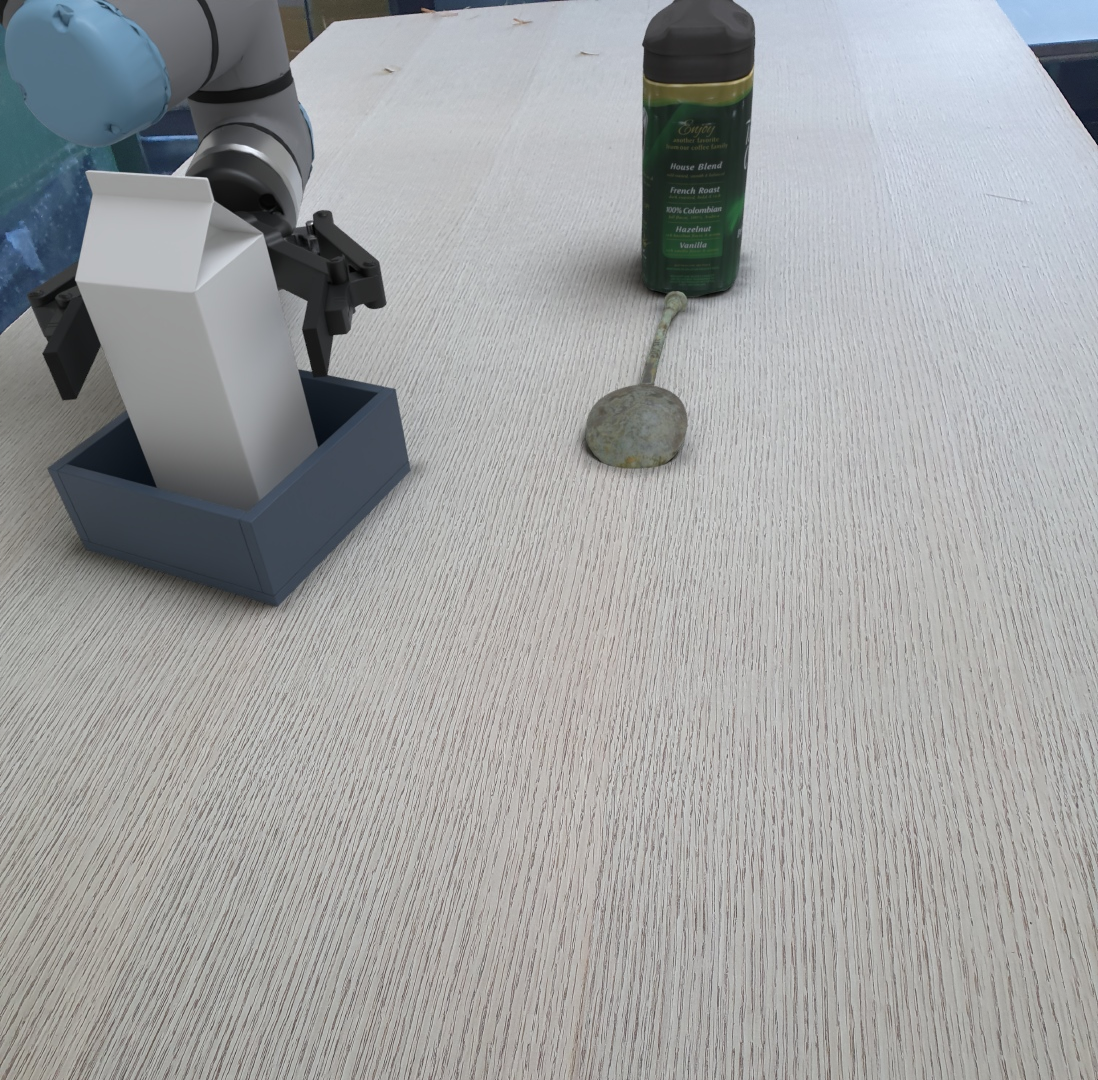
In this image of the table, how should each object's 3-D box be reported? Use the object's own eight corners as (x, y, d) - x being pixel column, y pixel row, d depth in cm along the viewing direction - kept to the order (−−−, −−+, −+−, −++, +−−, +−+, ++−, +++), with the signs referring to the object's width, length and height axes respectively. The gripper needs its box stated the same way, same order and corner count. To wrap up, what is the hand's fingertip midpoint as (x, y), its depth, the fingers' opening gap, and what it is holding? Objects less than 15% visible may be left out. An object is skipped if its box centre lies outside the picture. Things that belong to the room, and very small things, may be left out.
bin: (86, 552, 66) (46, 468, 61) (232, 431, 74) (206, 350, 70) (278, 610, 60) (250, 522, 56) (411, 473, 69) (396, 388, 65)
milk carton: (271, 540, 63) (167, 207, 50) (169, 523, 65) (41, 198, 51) (325, 474, 68) (243, 151, 54) (229, 460, 70) (125, 145, 56)
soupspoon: (575, 476, 69) (676, 488, 68) (574, 431, 66) (680, 443, 65) (635, 307, 83) (720, 315, 82) (636, 264, 80) (724, 271, 79)
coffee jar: (739, 302, 82) (758, 21, 69) (637, 302, 84) (636, 25, 70) (741, 249, 89) (759, -18, 75) (646, 249, 90) (647, -13, 77)
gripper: (433, 248, 74) (431, 407, 59) (75, 281, 74) (-16, 448, 59) (417, 130, 68) (410, 273, 54) (29, 165, 68) (-82, 318, 54)
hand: (187, 365), depth 57 cm, fingers open, 13 cm apart
